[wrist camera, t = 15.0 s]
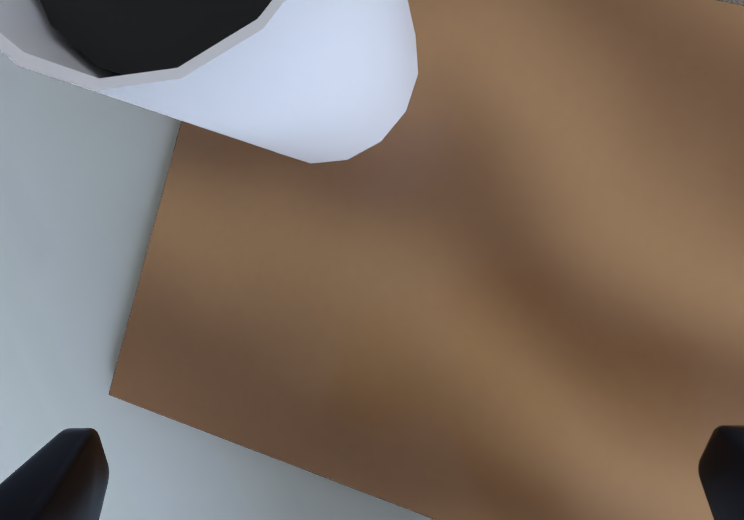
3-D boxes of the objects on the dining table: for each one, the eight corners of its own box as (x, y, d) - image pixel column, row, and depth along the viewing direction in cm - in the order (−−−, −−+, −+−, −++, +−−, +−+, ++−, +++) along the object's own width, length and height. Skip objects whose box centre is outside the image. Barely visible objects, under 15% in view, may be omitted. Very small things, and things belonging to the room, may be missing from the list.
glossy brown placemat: (753, 634, 16) (759, 644, 16) (115, 392, 20) (107, 395, 20) (958, 55, 15) (970, 50, 15) (244, -90, 19) (239, -98, 18)
